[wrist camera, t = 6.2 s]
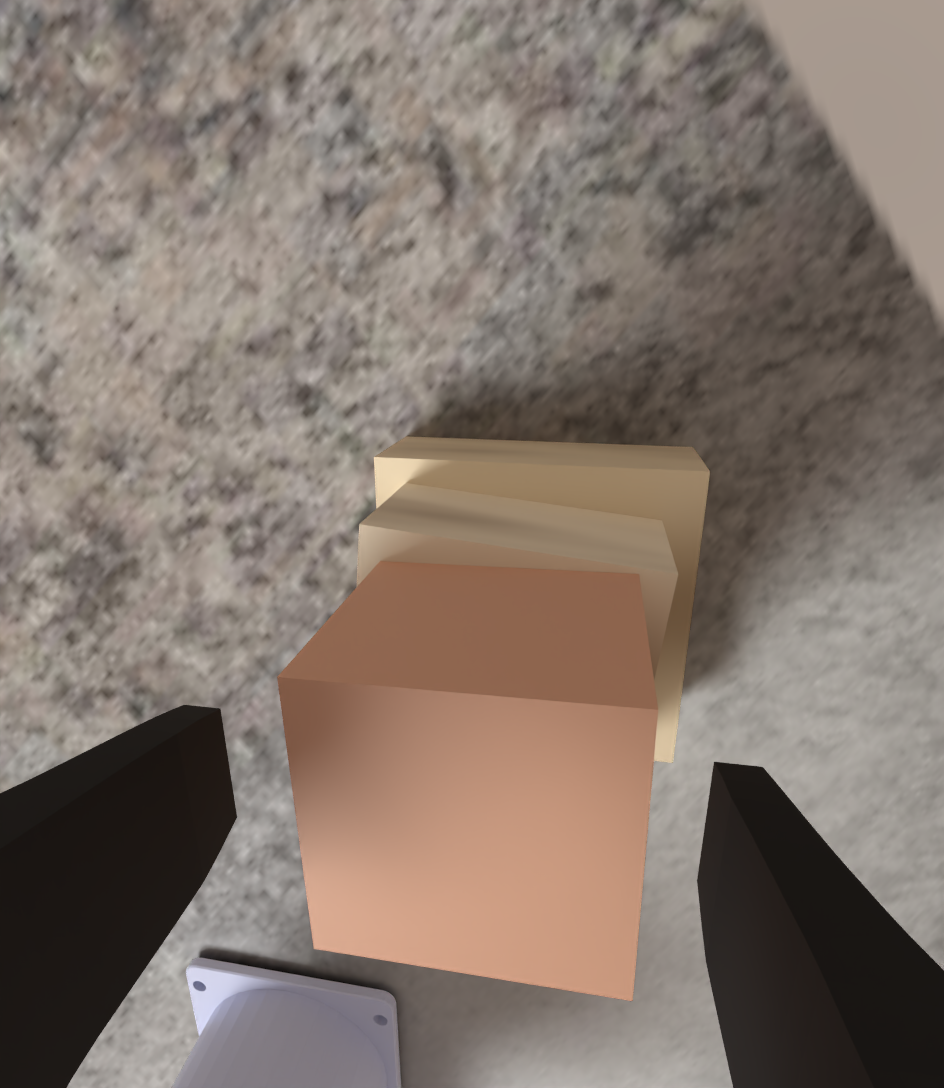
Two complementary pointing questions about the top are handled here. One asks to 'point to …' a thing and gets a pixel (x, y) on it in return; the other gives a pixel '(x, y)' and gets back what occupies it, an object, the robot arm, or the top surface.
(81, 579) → the top surface
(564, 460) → the tower base
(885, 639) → the top surface
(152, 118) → the top surface
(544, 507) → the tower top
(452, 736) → the terracotta block
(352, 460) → the top surface
